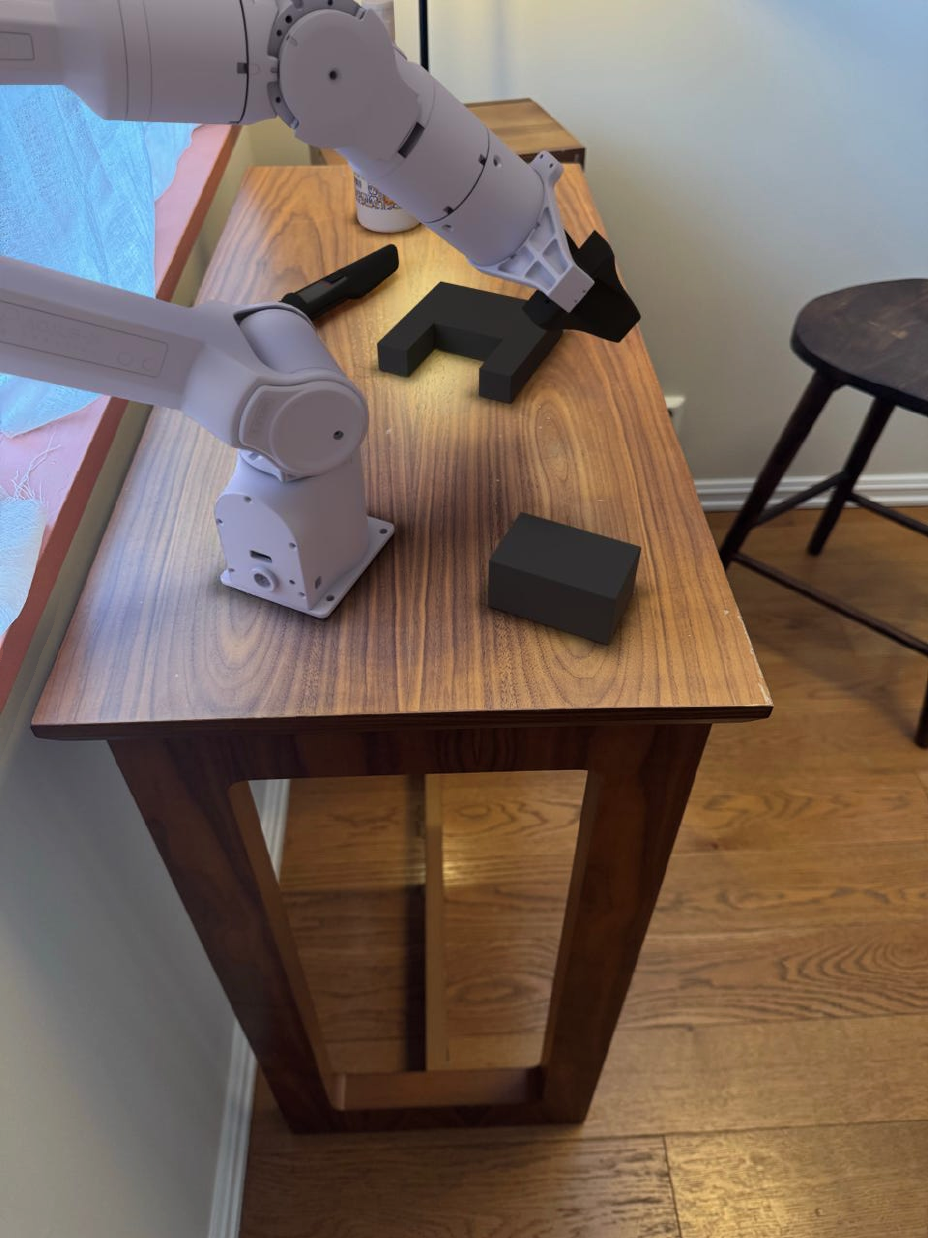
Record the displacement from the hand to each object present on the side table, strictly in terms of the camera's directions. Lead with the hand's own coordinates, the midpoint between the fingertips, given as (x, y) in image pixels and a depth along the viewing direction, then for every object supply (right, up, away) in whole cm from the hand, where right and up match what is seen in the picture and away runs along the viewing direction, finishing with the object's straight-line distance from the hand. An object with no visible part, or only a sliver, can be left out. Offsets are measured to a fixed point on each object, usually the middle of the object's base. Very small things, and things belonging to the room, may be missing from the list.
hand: (597, 295), depth 57 cm
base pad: (-8, +3, +21) cm, 23 cm away
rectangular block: (-2, -19, +1) cm, 19 cm away
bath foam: (-16, +22, +40) cm, 48 cm away
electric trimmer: (-20, +9, +27) cm, 35 cm away
